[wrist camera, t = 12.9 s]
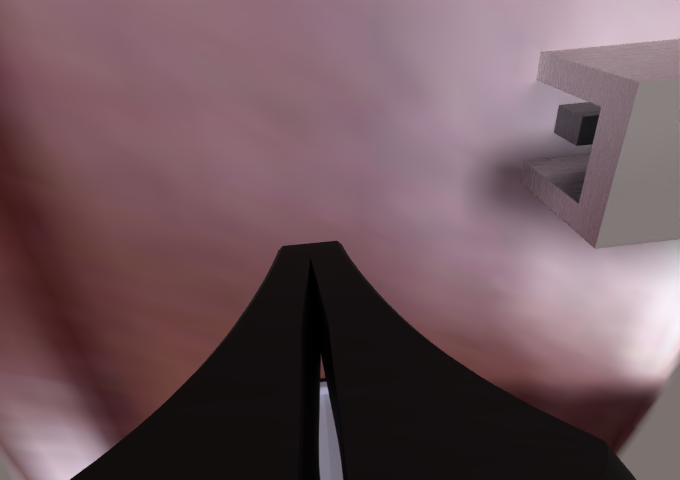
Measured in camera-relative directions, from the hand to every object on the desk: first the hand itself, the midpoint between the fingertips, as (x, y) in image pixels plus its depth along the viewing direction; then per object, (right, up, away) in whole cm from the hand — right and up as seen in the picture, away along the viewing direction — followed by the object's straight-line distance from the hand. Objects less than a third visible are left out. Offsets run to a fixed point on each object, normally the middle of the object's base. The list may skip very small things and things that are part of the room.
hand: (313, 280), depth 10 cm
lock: (+12, +6, +6) cm, 14 cm away
